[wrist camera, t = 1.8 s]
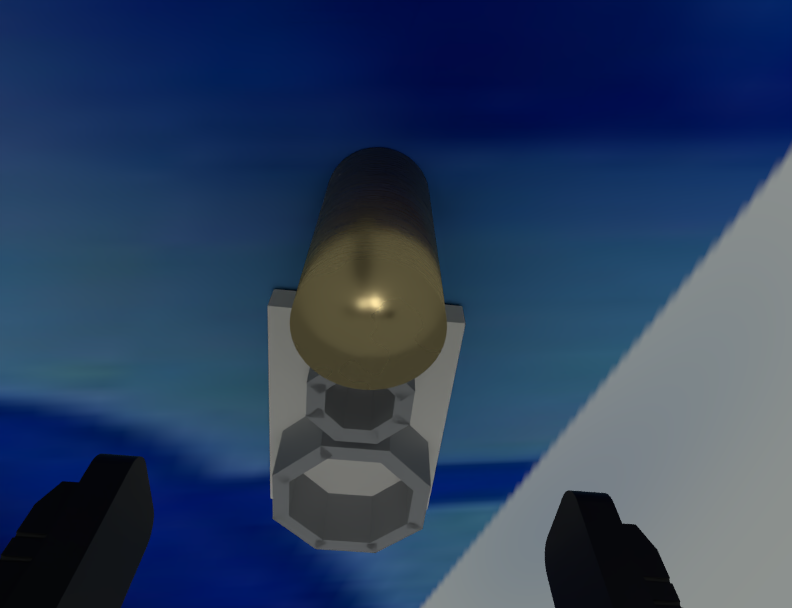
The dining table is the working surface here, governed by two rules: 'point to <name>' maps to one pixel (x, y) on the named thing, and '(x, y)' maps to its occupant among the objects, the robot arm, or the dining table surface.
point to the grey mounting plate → (353, 444)
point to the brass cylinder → (371, 277)
